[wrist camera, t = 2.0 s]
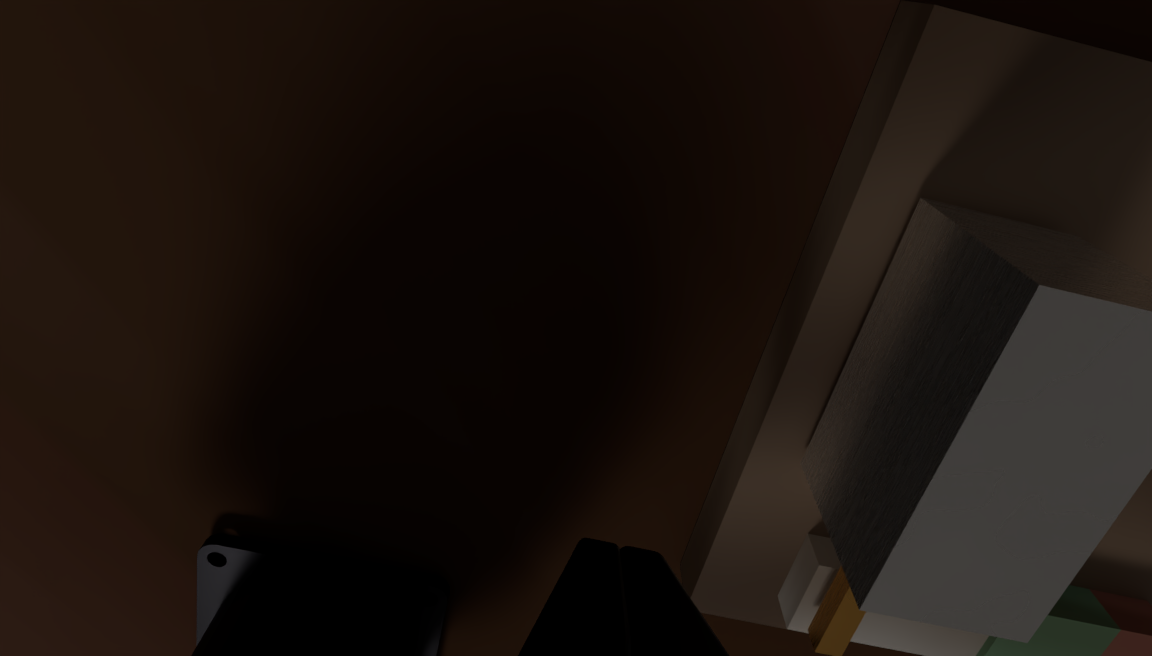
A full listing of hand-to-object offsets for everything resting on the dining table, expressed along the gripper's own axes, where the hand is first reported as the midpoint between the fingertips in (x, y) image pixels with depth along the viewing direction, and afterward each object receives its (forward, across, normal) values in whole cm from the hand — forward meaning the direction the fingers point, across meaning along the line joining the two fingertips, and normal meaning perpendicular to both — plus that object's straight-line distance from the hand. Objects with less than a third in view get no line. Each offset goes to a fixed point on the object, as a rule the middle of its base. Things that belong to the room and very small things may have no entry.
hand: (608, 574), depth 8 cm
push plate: (+7, -7, +2) cm, 10 cm away
